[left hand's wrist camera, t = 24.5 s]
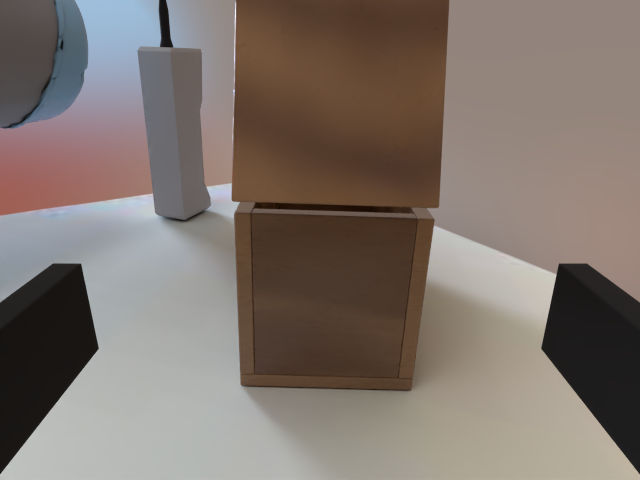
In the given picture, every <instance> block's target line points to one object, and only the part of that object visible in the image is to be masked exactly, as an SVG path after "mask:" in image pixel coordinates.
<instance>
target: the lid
mask: <svg viewBox="0 0 640 480" xmlns="http://www.w3.org/2000/svg"><path fill="white" fill-rule="evenodd" d="M448 15H449V0H236V6H235V57H234V109H233V160H232V201H234V202H259V203H289V204H319V205H350V206H380V207H411V208H438V207H439V196H440V176H441V155H442V136H443V115H444V96H445V75H446V55H447V36H448Z"/></svg>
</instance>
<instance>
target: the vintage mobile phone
mask: <svg viewBox="0 0 640 480" xmlns="http://www.w3.org/2000/svg"><path fill="white" fill-rule="evenodd" d="M159 19H160V30H161V43H160V47H140V48H139V49H138V59H139V68H140V77H141V87H142V96H143V104H144V114H145V123H146V132H147V142H148V150H149V160H150V169H151V178H152V187H153V197H154V206H155V213H156V214H157V215H159V216H164V217H170V218H176V219H182V220H186V219H187V218H189V217H191V216H193V215H195V214H197V213H199V212H201V211H203V210H205V209H207V208H209V207H210V205H211V202H210V196H209V193H208V191H207V188H206V186H205V183H204V169H203V152H202V137H201V121H200V107H201V102H202V53H201V49H191V48H173V44H172V41H171V38H170V26H169V14H168V7H167V3H166V0H159Z"/></svg>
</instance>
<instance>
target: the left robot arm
mask: <svg viewBox="0 0 640 480" xmlns="http://www.w3.org/2000/svg"><path fill="white" fill-rule="evenodd" d="M98 349H99V348H98V343H97V338H96V333H95V329H94V324H93V319H92V314H91V309H90V305H89V300H88V295H87V290H86V285H85V281H84V276H83V271H82V266H81V264H52V265H51V266H49V267H48V268H47V269H45V270H44V271H42V272H41V273H40V274H38V275H37V276H36V277H34V278H33V279H32V280H30V281H29V282H28V283H26V284H25V285H23V286H22V287H21V288H19V289H18V290H17V291H15V292H14V293H13V294H11V295H10V296H9V297H7V298H6V299H4V300H3V301H2V302H0V474H1V472H2V471H3V470H4V469H5V467H6V466H7V465H8V464H9V462H10V461H11V460H12V458H13V457H14V456H15V455H16V453H17V452H18V451H19V450H20V448H21V447H22V446H23V444H24V443H25V442H26V441H27V439H28V438H29V437H30V436H31V434H32V433H33V432H34V430H35V429H36V428H37V427H38V425H39V424H40V423H41V422H42V420H43V419H44V418H45V416H46V415H47V414H48V413H49V411H50V410H51V409H52V408H53V406H54V405H55V404H56V402H57V401H58V400H59V399H60V397H61V396H62V395H63V393H64V392H65V391H66V390H67V388H68V387H69V386H70V385H71V383H72V382H73V381H74V379H75V378H76V377H77V376H78V374H79V373H80V372H81V371H82V369H83V368H84V367H85V365H86V364H87V363H88V362H89V360H90V359H91V358H92V357H93V355H94V354H95V353H96V351H97V350H98ZM541 349H542V350H543V351H544V353H545V354H546V355H547V357H548V358H549V359H550V360H551V362H552V363H553V364H554V365H555V367H556V368H557V369H558V371H559V372H560V373H561V374H562V376H563V377H564V378H565V379H566V381H567V382H568V383H569V385H570V386H571V387H572V388H573V390H574V391H575V392H576V393H577V395H578V396H579V397H580V399H581V400H582V401H583V402H584V404H585V405H586V406H587V408H588V409H589V410H590V411H591V413H592V414H593V415H594V416H595V418H596V419H597V420H598V422H599V423H600V424H601V425H602V427H603V428H604V429H605V430H606V432H607V433H608V434H609V436H610V437H611V438H612V439H613V441H614V442H615V443H616V444H617V446H618V447H619V448H620V450H621V451H622V452H623V453H624V455H625V456H626V457H627V458H628V460H629V461H630V462H631V464H632V465H633V466H634V467H635V469H636V470H637V471H638V472H639V474H640V303H639V302H638V301H637V300H636V299H634V298H633V297H631V296H630V295H629V294H627V293H626V292H625V291H623V290H622V289H621V288H619V287H618V286H617V285H615V284H614V283H612V282H611V281H610V280H608V279H607V278H606V277H604V276H603V275H602V274H600V273H599V272H598V271H596V270H595V269H593V268H592V267H591V266H589V265H588V264H559V266H558V271H557V276H556V281H555V285H554V290H553V295H552V300H551V305H550V309H549V314H548V319H547V324H546V329H545V333H544V338H543V343H542V348H541Z"/></svg>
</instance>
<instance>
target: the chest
mask: <svg viewBox="0 0 640 480" xmlns="http://www.w3.org/2000/svg"><path fill="white" fill-rule="evenodd" d="M234 225H235V251H236V277H237V302H238V328H239V354H240V373H241V374H240V379H241V385H245V386H283V387H320V388H357V389H394V390H411V385H412V378H413V371H414V364H415V357H416V350H417V342H418V335H419V328H420V321H421V314H422V306H423V299H424V292H425V285H426V278H427V270H428V263H429V256H430V249H431V241H432V234H433V227H434V218H433V217H432V215H431V214H430V212H429V211H428V210H427V208H411V207H380V206H350V205H319V204H289V203H259V202H240V203H239V205H238V207H237V209H236V211H235V213H234Z"/></svg>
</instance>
